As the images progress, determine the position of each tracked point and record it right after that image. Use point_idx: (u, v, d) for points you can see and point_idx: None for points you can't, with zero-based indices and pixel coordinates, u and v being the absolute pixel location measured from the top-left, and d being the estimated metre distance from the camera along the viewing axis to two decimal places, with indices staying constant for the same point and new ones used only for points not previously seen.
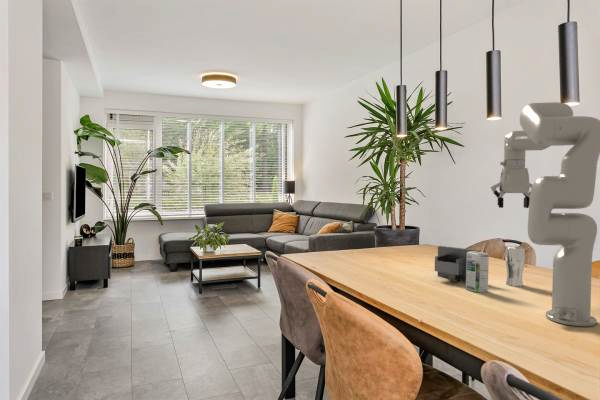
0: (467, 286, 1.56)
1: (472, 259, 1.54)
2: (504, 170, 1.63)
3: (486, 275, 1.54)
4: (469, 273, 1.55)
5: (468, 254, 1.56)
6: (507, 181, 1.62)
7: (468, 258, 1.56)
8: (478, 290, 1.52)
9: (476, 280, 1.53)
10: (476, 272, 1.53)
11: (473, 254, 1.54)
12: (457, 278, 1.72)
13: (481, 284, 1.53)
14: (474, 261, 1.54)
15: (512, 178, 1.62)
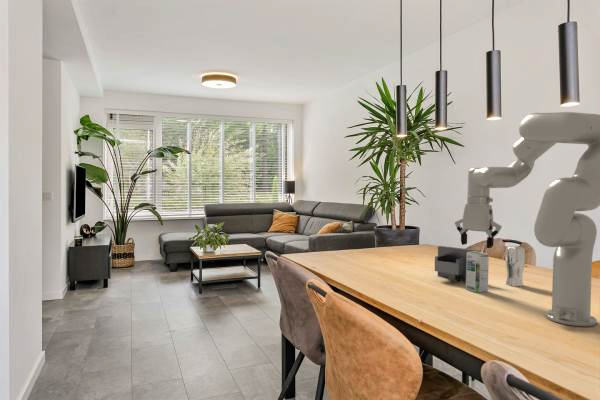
0: (467, 286, 1.56)
1: (472, 259, 1.54)
2: (491, 207, 1.53)
3: (486, 275, 1.54)
4: (469, 273, 1.55)
5: (468, 254, 1.56)
6: None
7: (468, 258, 1.56)
8: (478, 290, 1.52)
9: (476, 280, 1.53)
10: (476, 272, 1.53)
11: (473, 254, 1.54)
12: (457, 278, 1.72)
13: (481, 284, 1.53)
14: (474, 261, 1.54)
15: None
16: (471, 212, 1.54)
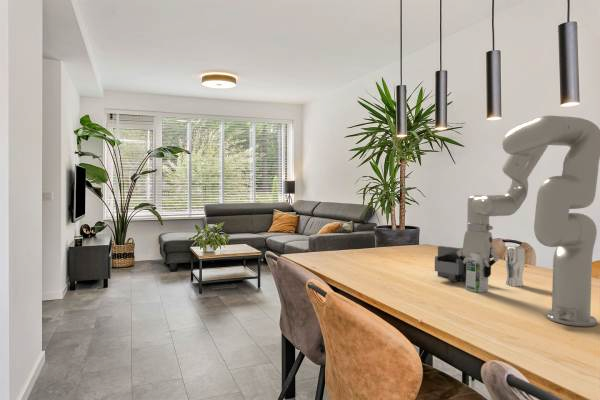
0: (467, 286, 1.56)
1: (472, 259, 1.54)
2: (491, 234, 1.53)
3: None
4: (469, 272, 1.55)
5: None
6: None
7: (468, 258, 1.56)
8: (478, 290, 1.52)
9: (476, 280, 1.53)
10: (476, 272, 1.53)
11: (473, 254, 1.54)
12: (457, 278, 1.72)
13: (481, 284, 1.53)
14: (474, 261, 1.54)
15: None
16: (471, 239, 1.55)
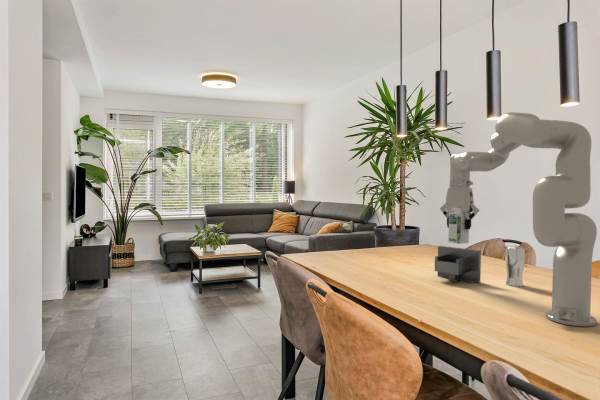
0: (449, 239, 1.68)
1: (454, 213, 1.65)
2: None
3: None
4: (451, 226, 1.67)
5: None
6: None
7: (450, 212, 1.67)
8: (459, 241, 1.64)
9: (457, 232, 1.64)
10: (457, 224, 1.64)
11: (455, 208, 1.65)
12: (457, 278, 1.72)
13: (462, 236, 1.64)
14: (455, 215, 1.65)
15: None
16: (453, 195, 1.66)
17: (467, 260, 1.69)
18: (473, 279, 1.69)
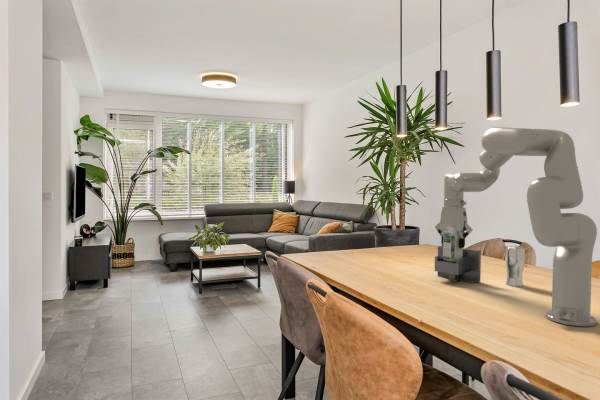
0: (444, 257, 1.72)
1: (448, 231, 1.70)
2: (465, 209, 1.69)
3: None
4: (446, 244, 1.71)
5: None
6: None
7: (445, 231, 1.71)
8: (453, 259, 1.68)
9: (451, 250, 1.68)
10: (451, 243, 1.68)
11: (449, 227, 1.69)
12: (457, 278, 1.72)
13: (456, 254, 1.68)
14: (449, 233, 1.69)
15: None
16: (447, 214, 1.70)
17: (467, 260, 1.69)
18: (473, 279, 1.69)
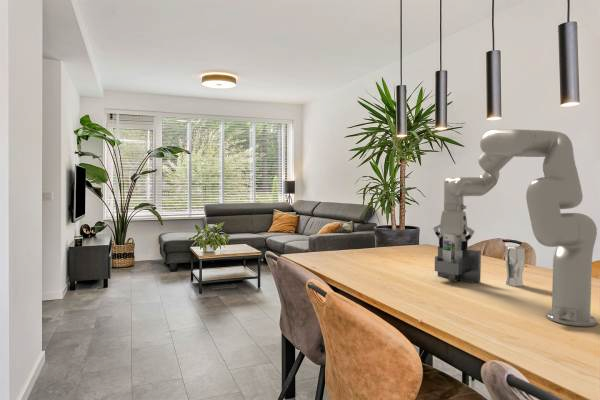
0: None
1: (448, 239, 1.70)
2: (465, 213, 1.69)
3: (460, 254, 1.70)
4: (446, 252, 1.71)
5: (444, 235, 1.71)
6: None
7: (444, 239, 1.71)
8: None
9: (451, 258, 1.68)
10: (451, 251, 1.68)
11: (449, 235, 1.69)
12: (457, 278, 1.72)
13: None
14: (449, 241, 1.69)
15: None
16: (447, 218, 1.70)
17: (467, 260, 1.69)
18: (473, 279, 1.69)
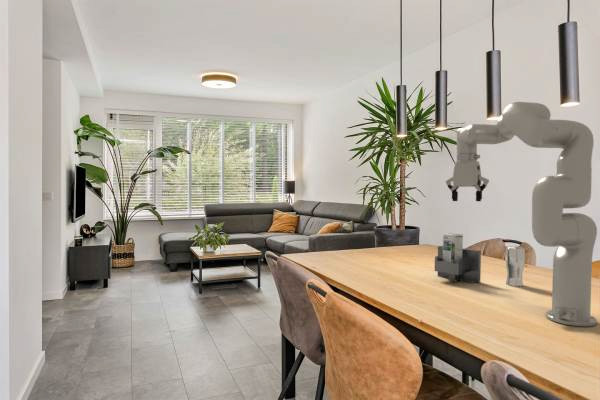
0: None
1: (448, 239, 1.70)
2: (479, 164, 1.64)
3: (460, 254, 1.70)
4: (446, 252, 1.71)
5: (444, 235, 1.71)
6: None
7: (444, 239, 1.71)
8: None
9: (451, 258, 1.68)
10: (451, 251, 1.68)
11: (449, 235, 1.69)
12: (457, 278, 1.72)
13: None
14: (449, 241, 1.69)
15: None
16: (460, 169, 1.66)
17: (467, 260, 1.69)
18: (473, 279, 1.69)
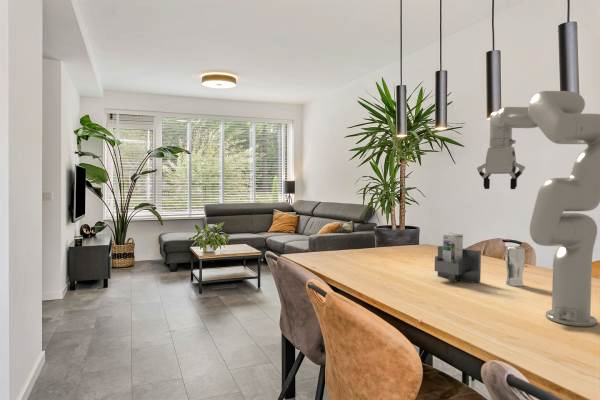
0: None
1: (448, 239, 1.70)
2: None
3: (460, 254, 1.70)
4: (446, 252, 1.71)
5: (444, 235, 1.71)
6: None
7: (444, 239, 1.71)
8: None
9: (451, 258, 1.68)
10: (451, 251, 1.68)
11: (449, 235, 1.69)
12: (457, 278, 1.72)
13: None
14: (449, 241, 1.69)
15: None
16: (494, 155, 1.56)
17: (467, 260, 1.69)
18: (473, 279, 1.69)
